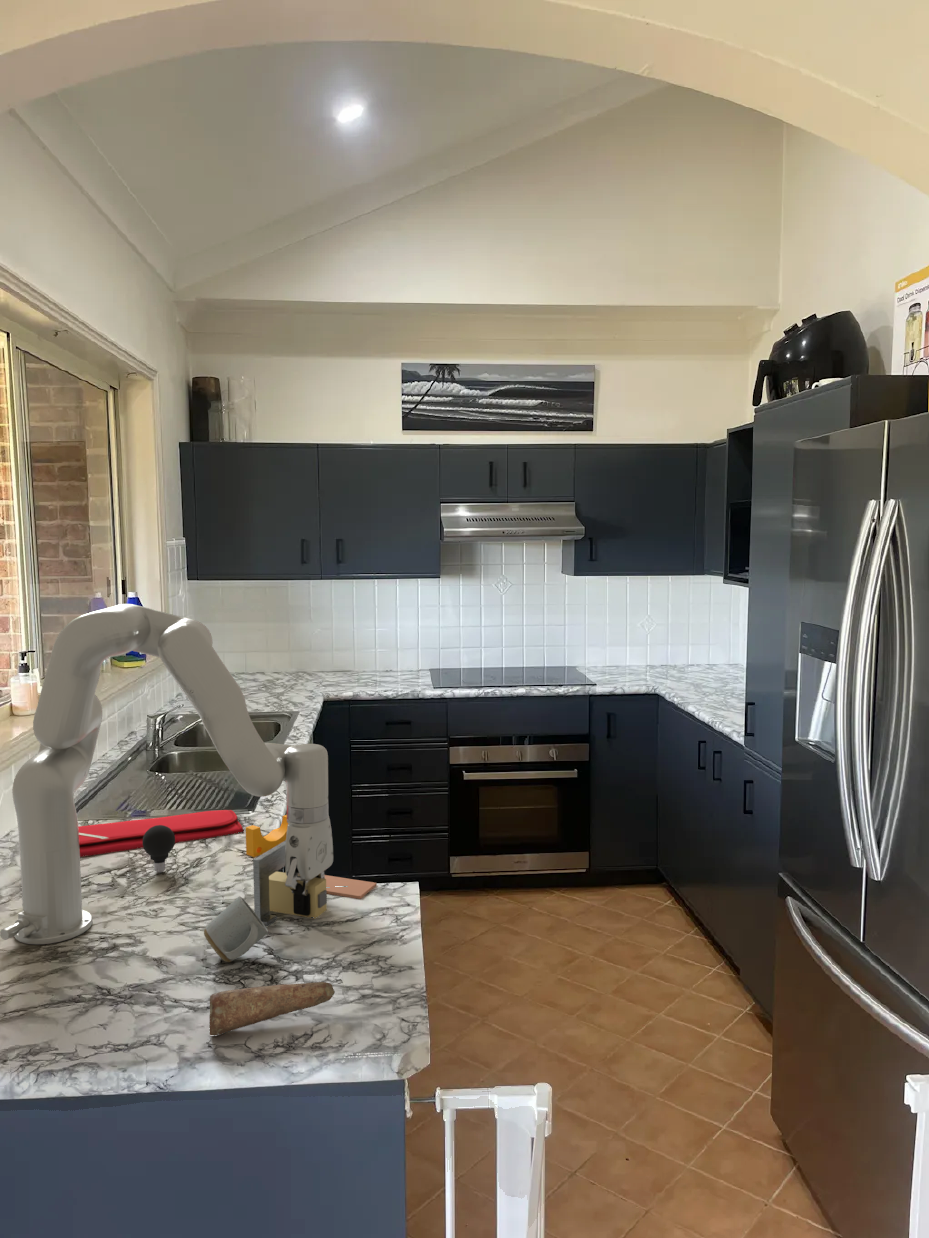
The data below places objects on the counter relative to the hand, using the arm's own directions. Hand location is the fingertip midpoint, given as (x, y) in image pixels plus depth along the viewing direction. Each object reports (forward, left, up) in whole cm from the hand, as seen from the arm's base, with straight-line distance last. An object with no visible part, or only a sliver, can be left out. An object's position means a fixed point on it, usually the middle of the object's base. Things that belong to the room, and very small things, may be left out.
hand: (308, 907), depth 165 cm
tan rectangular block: (0, +3, -1) cm, 4 cm away
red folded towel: (+23, +56, -2) cm, 61 cm away
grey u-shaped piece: (0, +6, -1) cm, 6 cm away
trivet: (+12, +1, -1) cm, 12 cm away
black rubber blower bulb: (+6, +39, -1) cm, 39 cm away
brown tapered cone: (-34, -14, -1) cm, 37 cm away
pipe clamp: (+27, +26, -1) cm, 37 cm away
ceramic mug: (-21, +1, -1) cm, 21 cm away
